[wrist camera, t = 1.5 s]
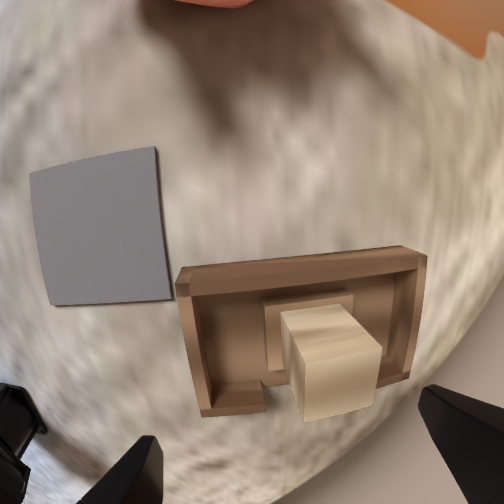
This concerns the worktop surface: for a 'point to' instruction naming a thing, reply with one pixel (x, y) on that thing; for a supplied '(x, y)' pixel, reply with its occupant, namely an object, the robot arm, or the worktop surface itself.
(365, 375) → the maple block
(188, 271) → the box
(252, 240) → the worktop surface
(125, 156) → the rubber mat
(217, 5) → the teapot
